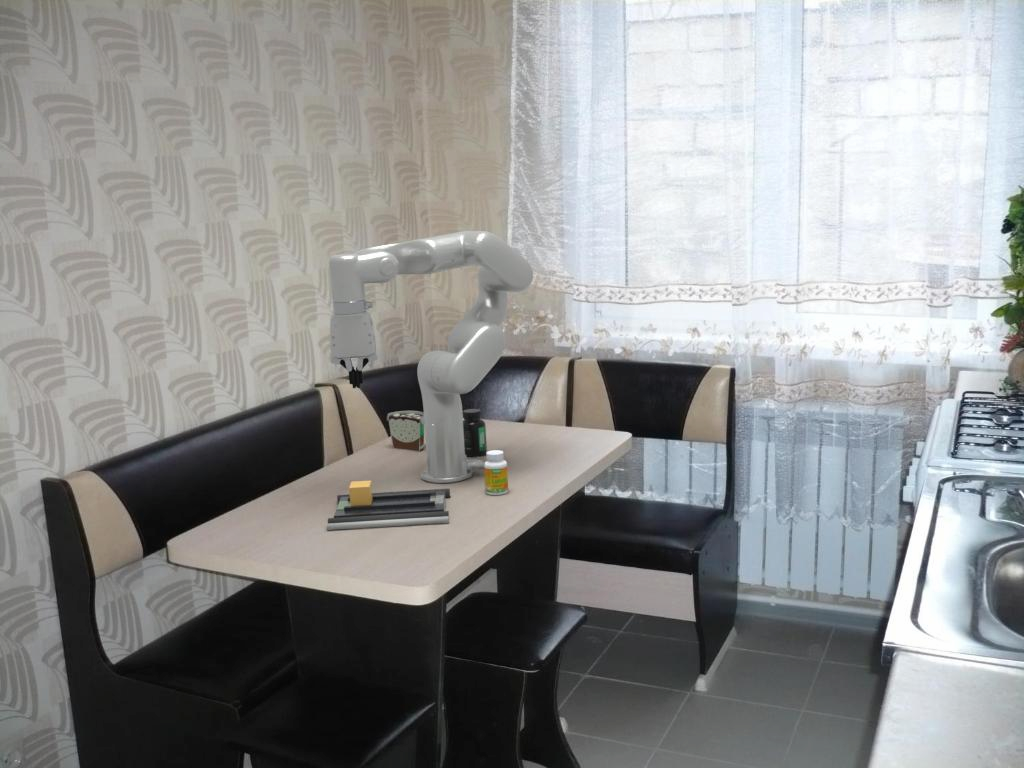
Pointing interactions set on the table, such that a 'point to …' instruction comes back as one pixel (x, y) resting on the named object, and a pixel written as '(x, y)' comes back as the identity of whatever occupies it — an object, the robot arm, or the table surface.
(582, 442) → the table surface
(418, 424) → the food container
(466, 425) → the supplement bottle
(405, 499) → the railed metal tray
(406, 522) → the pair of dark bars
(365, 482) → the toggle
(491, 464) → the supplement bottle
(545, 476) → the table surface
